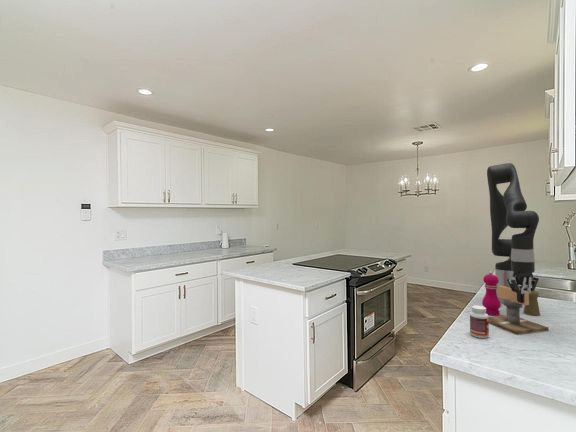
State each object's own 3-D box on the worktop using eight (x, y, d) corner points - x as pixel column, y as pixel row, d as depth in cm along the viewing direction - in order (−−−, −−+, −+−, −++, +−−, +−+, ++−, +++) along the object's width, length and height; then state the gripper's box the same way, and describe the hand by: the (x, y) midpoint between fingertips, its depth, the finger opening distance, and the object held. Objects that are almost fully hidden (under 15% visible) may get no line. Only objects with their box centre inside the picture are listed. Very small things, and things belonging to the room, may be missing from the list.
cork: (526, 315, 136) (525, 291, 136) (521, 311, 142) (521, 288, 142) (542, 316, 134) (542, 292, 134) (537, 312, 140) (536, 289, 140)
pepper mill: (495, 311, 143) (494, 269, 143) (504, 316, 136) (503, 272, 136) (479, 310, 144) (478, 269, 144) (487, 315, 137) (487, 272, 136)
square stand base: (510, 317, 134) (510, 299, 134) (548, 330, 119) (548, 310, 119) (481, 320, 131) (481, 302, 131) (516, 334, 115) (515, 314, 115)
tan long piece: (506, 301, 131) (505, 284, 131) (533, 309, 120) (533, 290, 120) (494, 302, 130) (493, 285, 130) (520, 310, 118) (520, 292, 118)
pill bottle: (491, 339, 112) (490, 310, 111) (472, 337, 113) (472, 309, 113) (485, 333, 117) (485, 305, 117) (468, 331, 119) (467, 304, 119)
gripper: (527, 257, 125) (527, 298, 126) (500, 259, 123) (500, 301, 123) (545, 260, 118) (546, 303, 118) (517, 262, 115) (518, 306, 115)
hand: (523, 302), depth 120 cm, fingers closed on tan long piece, 2 cm apart
